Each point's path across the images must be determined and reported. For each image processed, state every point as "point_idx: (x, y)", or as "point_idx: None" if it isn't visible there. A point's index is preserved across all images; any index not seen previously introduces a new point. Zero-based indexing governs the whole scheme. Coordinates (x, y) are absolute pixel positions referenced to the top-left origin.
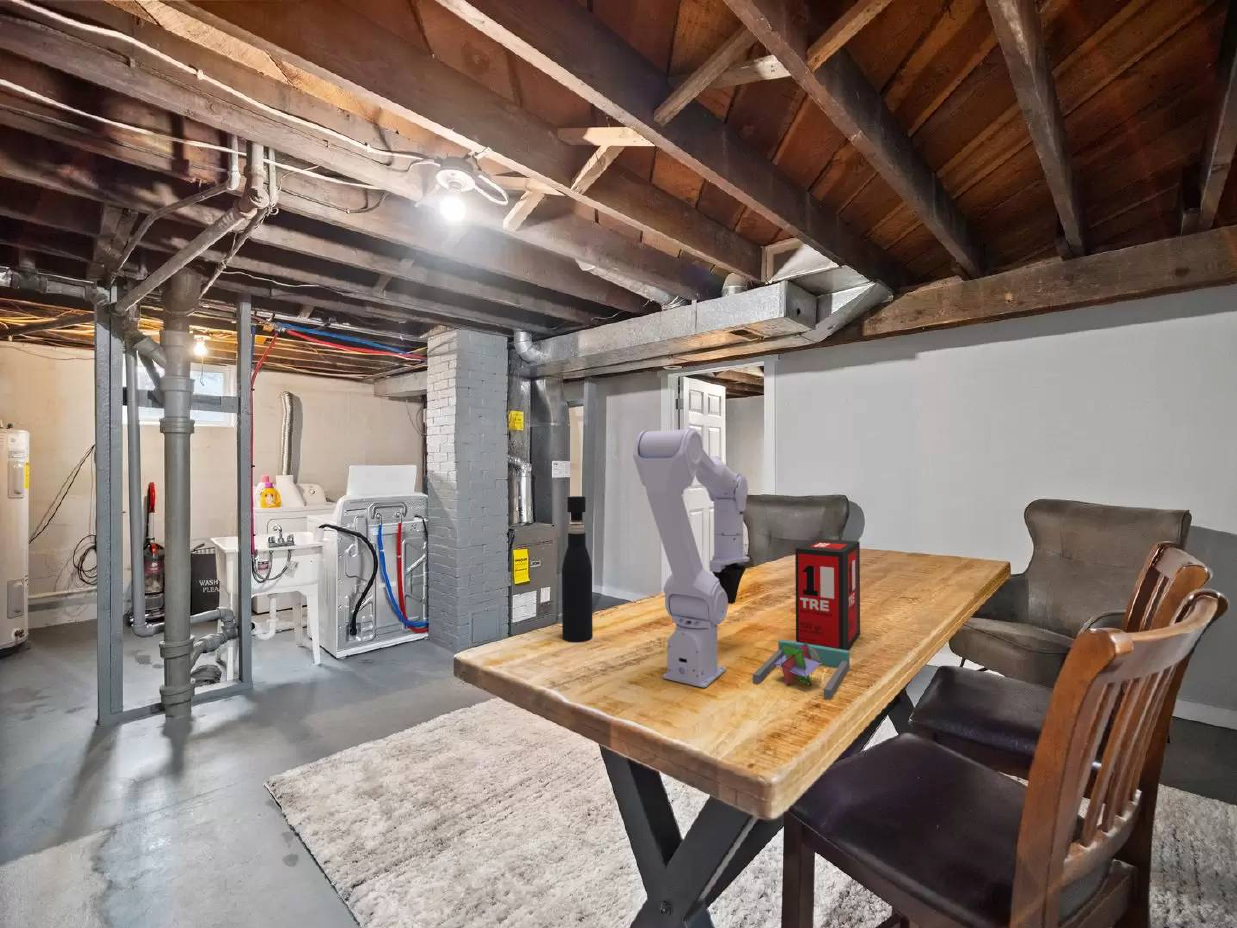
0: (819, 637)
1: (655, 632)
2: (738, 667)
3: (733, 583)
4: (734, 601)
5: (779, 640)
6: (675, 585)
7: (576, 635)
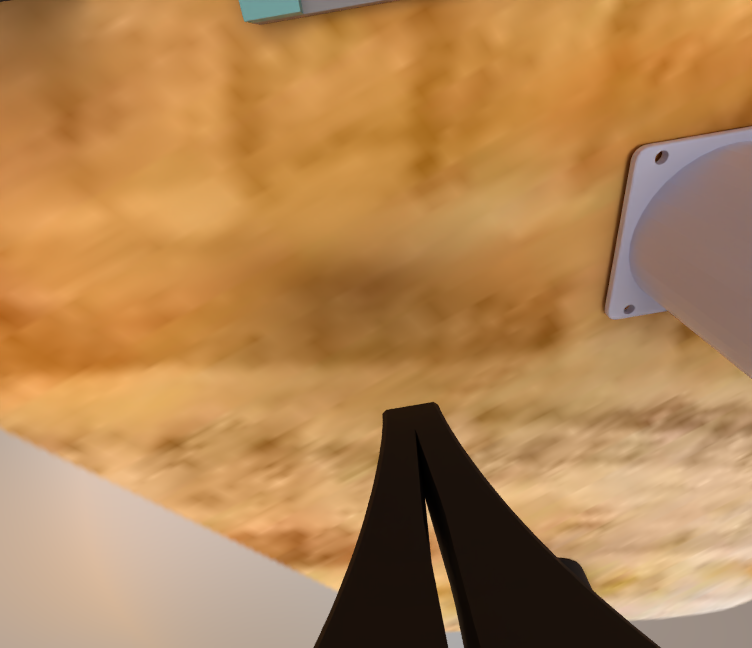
0: None
1: None
2: (566, 123)
3: (546, 551)
4: (402, 413)
5: (277, 13)
6: None
7: (585, 580)
